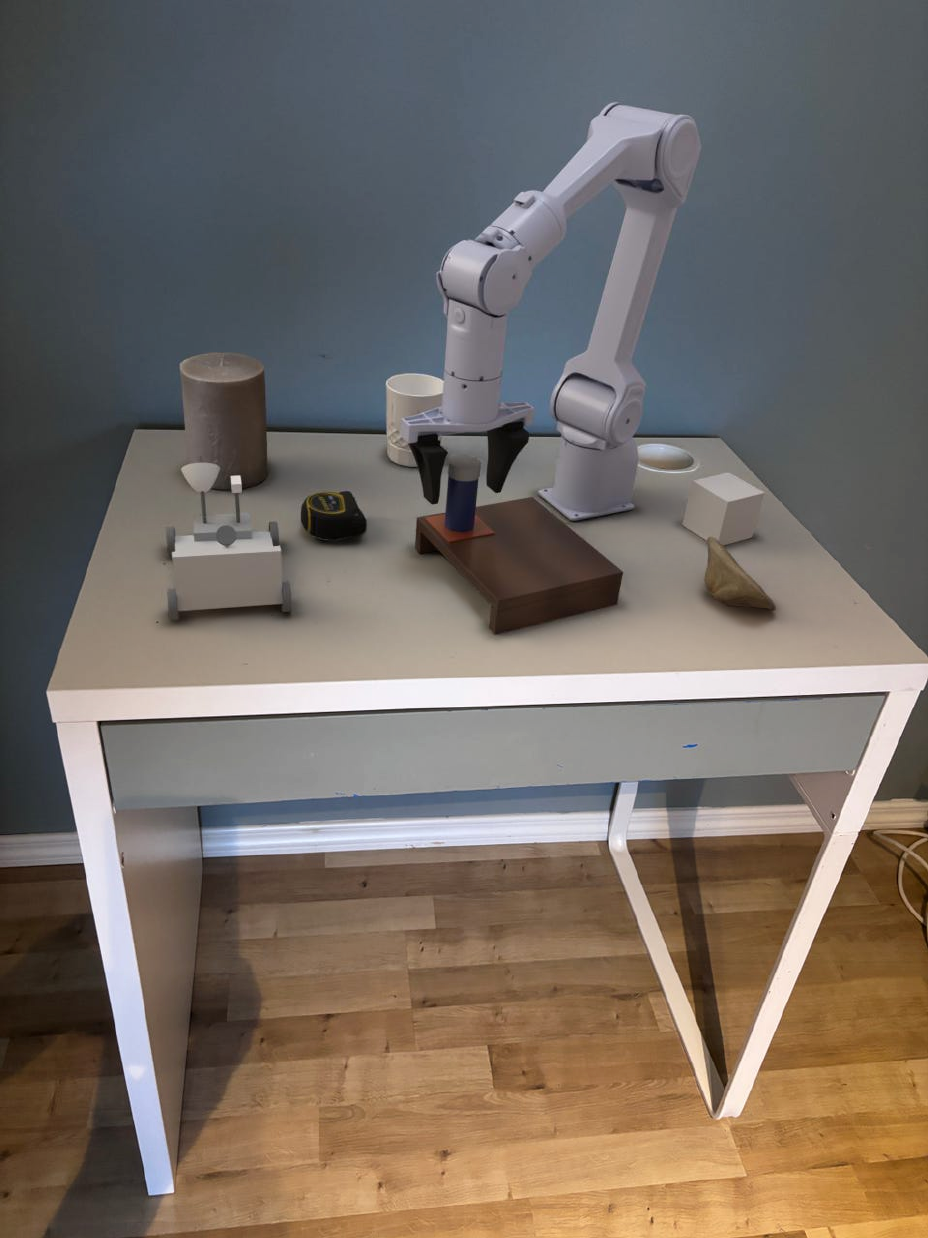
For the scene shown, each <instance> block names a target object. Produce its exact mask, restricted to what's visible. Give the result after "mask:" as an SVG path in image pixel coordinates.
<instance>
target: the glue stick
mask: <svg viewBox="0 0 928 1238" xmlns="http://www.w3.org/2000/svg"><path fill="white" fill-rule="evenodd" d="M481 468H482V462H481V460H480V459H479V458H477V457H475V456H473V455H468V454H455V455H453V456H451V457H449V458H448V462H447V488H446V502H445V511H444V513H445V526H446V527H447V528H448V529H450V530H453V531H457V532H466V531H469V530H471V529H473V527H474V521H475V511H476V507H477V498H478V491H479V490H478V489H479V478H480V476H481Z"/></svg>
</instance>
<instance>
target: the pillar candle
mask: <svg viewBox="0 0 928 1238" xmlns="http://www.w3.org/2000/svg"><path fill="white" fill-rule="evenodd" d="M179 373H180V382H181V384H180V385H181V395H182V408H183V419H184V420H183V421H184V432H185V433H184V434H185V441H186V442H185V444H186V454H187V455H186V456H187V465H188V464H192V463H198V456H202V463H212V464H215V465H218V466H219V467H220V470H219V473H218V476H217V478H216V480H215V482H214V484H213V486H212V487H211V488H210V489H213V490H215V489H216V490H224V491H225V490H226V491H232V488H231V476H234V475H237V476H240V477H241V484H242V489H245V488H246V489H247V488H249V487H252V486H255V485H257V484H259V483H261V482H263V481H264V480H266V479H267V477H268V475H269V469H268V436H267V435H268V433H267V431H268V428H267V406H266V404H267V402H266V401H267V400H266V399H267V398H266V378H265V367H264V364H263V363H262V361H260V360H259V359H257V358H255V357H253V356H250V355H247V354H244V353H243V354H242V353H236V352H207V353H202V354H201V353H200V354H197V355H194V356H191V357H188V358H186V359H183V360H182V361H181V362H180V364H179Z"/></svg>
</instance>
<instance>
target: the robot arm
mask: <svg viewBox="0 0 928 1238" xmlns="http://www.w3.org/2000/svg"><path fill="white" fill-rule="evenodd" d="M699 134H700V133H699V131H698V126H697V124H696V121H695V120H694V118H693V117H692V116H690V115H688V114H681V113H680V114H673V113H668V112H662V111H659V110H658V111H657V110H653V109H648V108H647V109H646V108H641V107H635V106H631V105H625V103H622V102H617V101H615V102H610V103H609V104H607V105H605V106H604V108H603V109H602V110H601V112H600V113H599V114H598V115H597V116H595V117H594V118H593V119H591V120H590V123H589V127H588V130H587V137H586V142H585V143H584V144H583V146H582V147H581V148H579V150H578V151H577V153H576V154H575V155H574V156H573V157H572V158H571V159H570V160H569V162H567V164H566V165H565V166H564V167H563V168H562V169H561V170H560V171H559V172H558V174H557V175H556V176H555V177H554V178H553V179H552V181H551V182H550V183H549V184H548V185H547V186H546V188H545V189H544V190H543V191H540V190H535V189H532V190H527V191H521V192H520V193H518V194H517V195H516V197H515V198H514V199H513V201H514V202H513V203H512V204H510V205H509V206H508V207H507V208H506V209H505V210H504V211H503V212H502V213H501V214H500V215H499V216H498V217H497V218H496V219H495V220H494V221H492V223H490V224H489V225H488V226H486V228H485V229H484V230H483V231H482V232H481V233H480V234H479V235H477V237H475V239H474V240H473V239H467V240H466V239H463V240H461V241H459V242H458V243H456V244H454V245H453V246H451V247H450V248H449V249H448V250H447V252H446V253H445V255H444V257H443V259H442V261H441V265H440V269H439V271H436V276H435V277H436V284H437V288H438V291H439V293H440V295H441V296H442V299H443V300H442V301H443V311H442V312H443V314H444V316H445V317H444V318H446V319H447V322H446V323H447V324H446V340H445V355H444V368H443V369H444V371H443V381H444V383H443V398H442V406H441V407H438V408H435V409H432V410H429V411H426V412H423V413H420V414H418V415H414V416H410V417H405V418H401V428H400V436H401V437H402V438H403V439H404V440H405V441H407V443H408V445H409V447H410V449H411V451H412V453H413V456H414V458H415V461H416V464H417V467H416V468H417V470H418V473H419V477H420V481H421V489H422V493H423V499H425V500H426V501H427V502H428V503H429V504H430V505H432V506H433V505H439V500H440V497H441V496H440V495H441V482H442V481H441V480H442V474H443V470H444V465H445V462H446V458H447V456H448V454H449V451H447V449H445V448H444V447H443V446H442V445H441V443H442V440H441V441H440V440H438V436H442V437H443V436H450V435H457V434H463V433H482V432H486V435H487V436H486V437H487V465H486V474H485V482H486V487H488V488H489V490H491V491H492V492H493V493H494V494H500V493H502V490H503V488H504V485H505V482H506V480H507V477H508V475H509V473H510V471H511V469H512V467H513V465H514V462H515V461H516V459H517V457H518V456H519V454H520V453H521V452H522V450H523V449H524V448H525V447H526V446H527V445H528V444H529V440H530V432H529V431H528V430H527V429H525V428H524V427H530V426H534V420H535V411H536V408H535V407H534V406H532V405H531V404H530V403H528V402H527V401H516V402H503V401H501V402H500V397H501V396H500V395H501V387H502V386H501V385H502V375H503V367H504V355H505V346H506V336H507V327H508V317H509V316H508V315H509V312H511V311H512V309H516V307H517V306H518V304H519V303H520V301H521V299H522V297H523V294H524V291H525V287H526V285H527V284H528V282H529V281H530V280H531V276H533V272H532V271H533V270H534V269H535V268H536V267H537V266H538V265H539V264H540V263H541V262H542V261H544V260H545V258H546V257H547V256H549V255H550V253H552V252H553V251H554V249H555V248H556V247H558V245H559V244H560V243H561V242H563V240H564V239H565V237H566V236H567V228H568V227H567V220H568V219H569V218H571V217H572V216H574V214H576V213H577V212H578V211H579V210H580V209H581V208H583V207H584V206H585V205H586V204H587V203H589V202H590V201H591V200H593V199H594V198H595V197H596V196H597V195H598V194H600V193H601V192H602V191H603V190H605V189H607V187H608V186H609V185H612V186H613V187H614V188H615V190H617V191H618V192H619V193H620V196H621V197H622V200H623V202H624V204H625V207H626V209H625V214H624V218H623V221H622V224H621V228H620V232H619V234H618V238H617V243H616V246H615V250H614V253H613V257H612V260H611V264H610V268H609V271H608V275H607V278H606V282H605V284H604V289H603V293H602V296H601V299H600V303H599V306H598V310H597V313H596V317H595V320H594V324H593V328H592V332H591V335H590V339H589V342H588V346H587V349H586V351H584V352H582V353H580V354H578V355H576V356H574V357H571V358H570V359H569V360H567V361H566V362H565V365H564V369H563V371H562V374H561V376H560V378H559V380H558V382H557V383H556V384H555V386H554V387H553V390H552V393H551V396H550V401H549V404H550V405H549V407H550V408H549V409H550V410H549V411H550V414H551V417H552V419H553V420H554V421H555V422H557V424H556V431H557V432H559V433H560V441H559V448H558V453H557V462H556V468H555V474H554V481H553V487H548V488H542V489H539V490H538V493H537V494H538V495H539V496H540V497H542V498H543V499H544V500H545V501H546V502H547V503H549V504H550V505H551V506H552V507H553V508H555V509H556V510H557V511H559V512H560V513H561V514H562V515H563V516H565V518H567V519H568V520H570V521H571V522H572V521H573V522H575V521H580V520H585V519H591V518H595V517H601V516H606V515H610V514H612V515H613V514H616V513H621V512H626V511H632V510H634V508H635V505H634V504H633V503H632V502H631V501H632V496H633V490H634V485H635V481H636V476H637V470H638V466H639V465H638V464H639V450H638V446H637V443H636V441H635V439H634V436H635V434H636V432H638V429H639V428H640V427H639V426H640V425H641V421H642V419H643V402H644V395H645V392H646V389H647V384H646V382H645V380H644V379H643V377H642V375H641V374H640V373H639V371H638V369H637V368H636V366H635V365H634V363H633V361H632V360H633V357H634V354H635V350H636V347H637V343H638V341H639V336H640V333H641V330H642V327H643V323H644V320H645V317H646V313H647V310H648V307H649V304H650V300H651V297H652V293H653V290H654V287H655V283H656V280H657V278H658V277H657V276H658V273H659V270H660V268H661V267H660V266H661V263H662V261H663V257H664V255H665V250H666V247H667V243H668V240H669V237H670V233H671V230H672V226H673V223H674V220H675V217H676V213H677V210H678V207H681V206H684V205H685V203H686V200H687V196H688V193H689V190H690V187H691V184H692V181H693V177H694V174H695V171H696V167H697V164H698V161H699V157H700V154H701V150H702V143H701V139H700V135H699Z"/></svg>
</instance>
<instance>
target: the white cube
mask: <svg viewBox="0 0 928 1238" xmlns="http://www.w3.org/2000/svg"><path fill="white" fill-rule="evenodd" d="M765 494H766V493H765V492H764V491H763V490H761V489H759V488H757V487H755V486H753V485H752V484H750V483H748V482H747V481H745V480H743V479H742V478H740V477H737V476H736V475H734V474H733V473H731V472H729V471H728V472H723V473H719V474H715V475H711V476H706V477H701V478H697V479H693V480H692V481H691V486H690V490H689V494H688V498H687V503H686V507H685V512H684V516H683V520H682V526H683V527H685V528H686V529H688V530H689V531H691V532H692V533H693V534H695V535H697V536H699V537H700V538H701V539H703V540H705V541H706V542H707V539H708V537H710V536H711V537H714V538H715V539H716V540H718V541H719V543H721V544H722V545H723V546H726V545H730V544H734V543H737V542H740V541H745V540H747V539H751V538H753V536H754V533H755V529H756V527H757V524H758V523H757V522H758V518H759V515H760V512H761V508H762V505H763V501H764V497H765Z"/></svg>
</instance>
